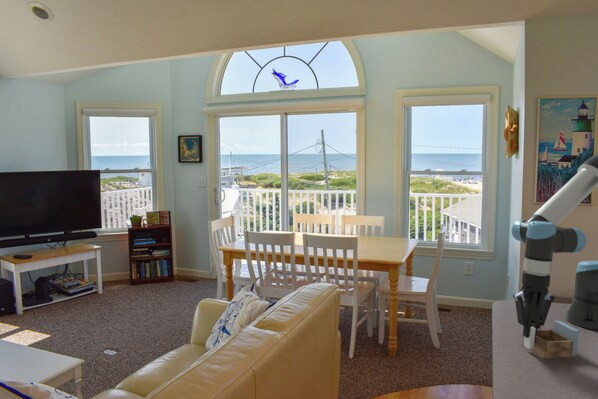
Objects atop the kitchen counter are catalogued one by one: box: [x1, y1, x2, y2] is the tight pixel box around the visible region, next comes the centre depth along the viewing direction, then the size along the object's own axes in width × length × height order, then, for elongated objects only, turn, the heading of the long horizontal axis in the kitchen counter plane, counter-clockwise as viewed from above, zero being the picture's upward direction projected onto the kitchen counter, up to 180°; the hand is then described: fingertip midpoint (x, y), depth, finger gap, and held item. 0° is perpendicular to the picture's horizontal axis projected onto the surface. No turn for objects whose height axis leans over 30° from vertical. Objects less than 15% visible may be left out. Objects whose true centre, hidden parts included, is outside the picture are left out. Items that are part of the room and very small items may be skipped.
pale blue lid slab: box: [552, 320, 580, 357], centre depth 142 cm, size 2×8×8 cm, turn 10°
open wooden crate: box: [522, 328, 573, 359], centre depth 142 cm, size 10×10×5 cm
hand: (528, 347), depth 141 cm, fingers closed
